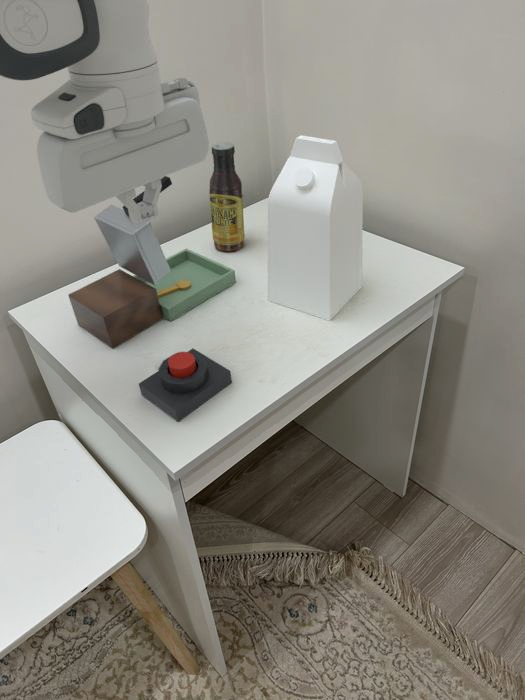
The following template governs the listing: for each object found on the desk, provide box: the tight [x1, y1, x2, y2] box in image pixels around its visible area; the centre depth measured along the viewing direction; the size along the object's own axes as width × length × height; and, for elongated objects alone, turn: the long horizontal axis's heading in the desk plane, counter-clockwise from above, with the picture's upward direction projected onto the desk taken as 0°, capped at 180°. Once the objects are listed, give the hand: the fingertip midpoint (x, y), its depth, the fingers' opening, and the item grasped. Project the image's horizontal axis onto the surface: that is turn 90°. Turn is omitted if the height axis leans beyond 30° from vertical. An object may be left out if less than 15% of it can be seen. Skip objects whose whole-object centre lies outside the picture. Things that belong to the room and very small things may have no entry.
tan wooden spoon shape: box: [157, 280, 191, 298], centre depth 96 cm, size 7×3×1 cm, turn 123°
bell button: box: [168, 351, 196, 378], centre depth 74 cm, size 4×4×2 cm
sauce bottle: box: [208, 141, 245, 252], centre depth 102 cm, size 7×6×20 cm
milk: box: [267, 134, 364, 322], centre depth 85 cm, size 12×12×26 cm
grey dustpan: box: [93, 175, 173, 286], centre depth 87 cm, size 11×10×12 cm
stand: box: [67, 268, 163, 349], centre depth 88 cm, size 10×10×6 cm
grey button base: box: [138, 348, 233, 423], centre depth 75 cm, size 10×8×4 cm
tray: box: [132, 248, 237, 322], centre depth 97 cm, size 15×13×2 cm
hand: (144, 219), depth 65 cm, fingers closed
